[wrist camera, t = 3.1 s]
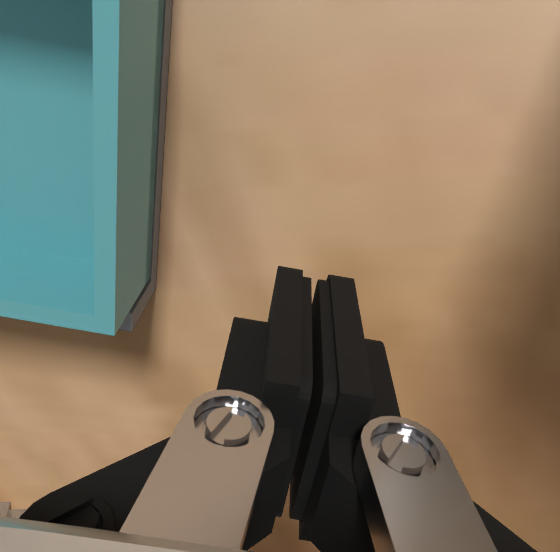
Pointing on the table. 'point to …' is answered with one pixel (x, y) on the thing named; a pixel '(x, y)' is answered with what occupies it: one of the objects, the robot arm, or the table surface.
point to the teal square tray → (77, 158)
